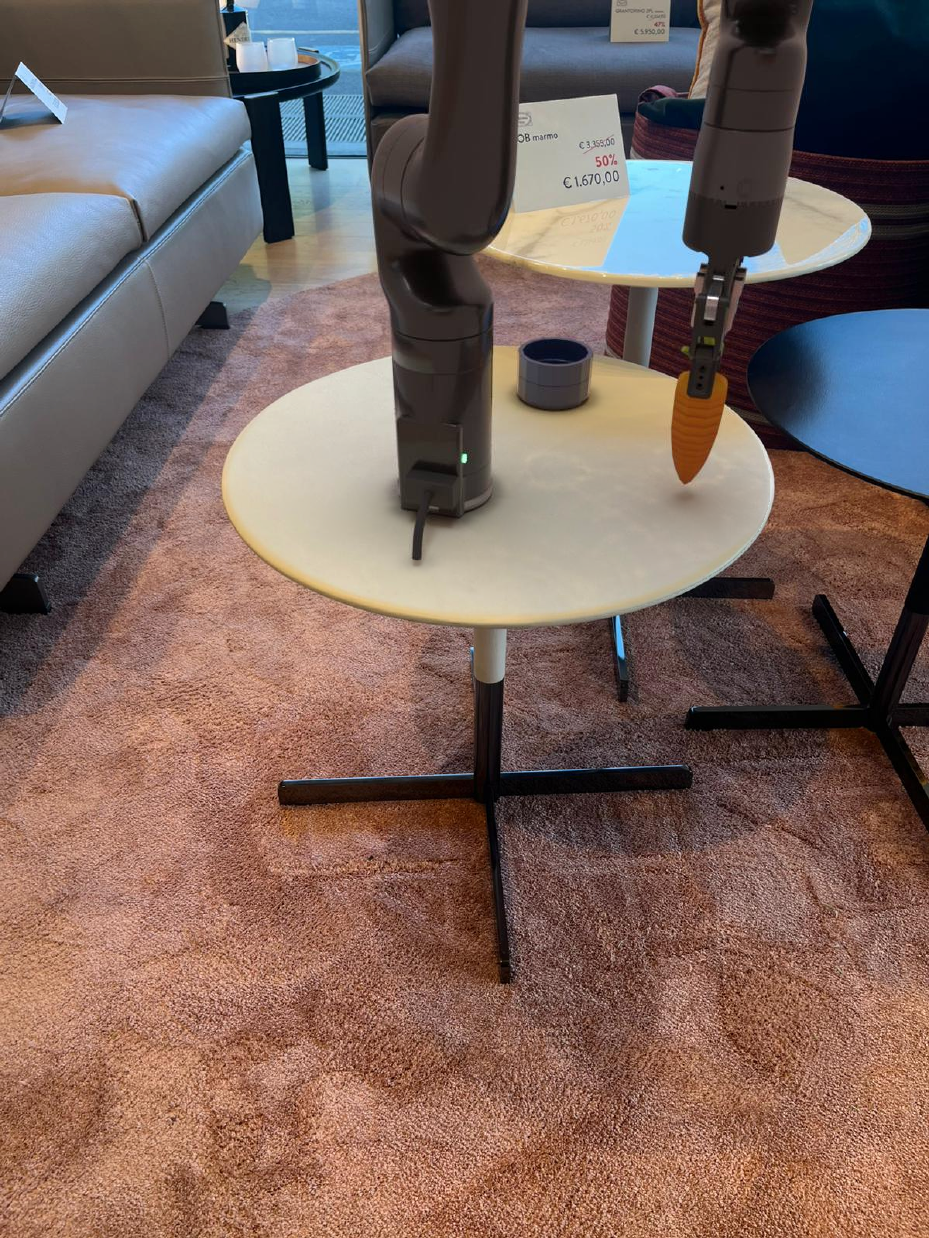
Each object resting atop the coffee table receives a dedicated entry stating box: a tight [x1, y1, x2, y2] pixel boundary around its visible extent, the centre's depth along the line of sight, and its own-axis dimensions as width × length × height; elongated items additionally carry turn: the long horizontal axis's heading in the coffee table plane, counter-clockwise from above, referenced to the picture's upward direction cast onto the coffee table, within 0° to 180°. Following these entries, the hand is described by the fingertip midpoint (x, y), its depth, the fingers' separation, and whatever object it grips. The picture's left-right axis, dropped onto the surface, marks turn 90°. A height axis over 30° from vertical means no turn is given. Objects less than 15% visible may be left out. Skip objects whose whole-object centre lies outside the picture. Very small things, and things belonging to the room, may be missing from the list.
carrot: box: [670, 337, 729, 485], centre depth 87 cm, size 5×5×15 cm
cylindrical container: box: [516, 336, 594, 411], centre depth 108 cm, size 9×9×6 cm
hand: (702, 384), depth 85 cm, fingers closed on carrot, 4 cm apart
